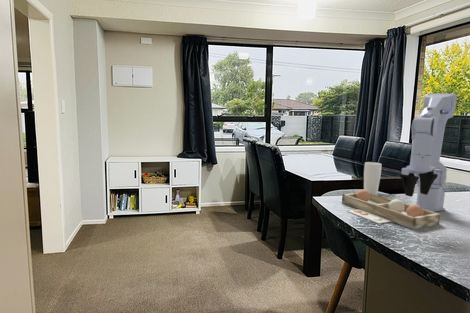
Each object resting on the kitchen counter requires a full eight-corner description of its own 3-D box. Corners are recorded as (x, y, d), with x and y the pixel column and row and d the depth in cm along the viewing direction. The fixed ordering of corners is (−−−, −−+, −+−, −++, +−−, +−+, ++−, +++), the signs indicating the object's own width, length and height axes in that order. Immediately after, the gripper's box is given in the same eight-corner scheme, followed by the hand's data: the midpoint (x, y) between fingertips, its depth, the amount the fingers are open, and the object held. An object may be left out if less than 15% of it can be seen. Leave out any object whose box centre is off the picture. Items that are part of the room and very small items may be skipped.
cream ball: (394, 210, 118) (395, 197, 117) (406, 214, 113) (408, 200, 113) (384, 211, 116) (386, 198, 115) (397, 216, 111) (398, 202, 111)
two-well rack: (365, 200, 135) (366, 191, 134) (439, 224, 107) (440, 214, 107) (341, 202, 129) (342, 194, 129) (413, 229, 102) (414, 218, 101)
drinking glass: (380, 200, 135) (383, 165, 133) (363, 198, 137) (366, 163, 135) (376, 196, 142) (379, 162, 140) (360, 194, 143) (363, 161, 141)
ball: (362, 199, 131) (363, 187, 130) (372, 203, 127) (373, 190, 126) (353, 200, 129) (354, 188, 128) (363, 204, 125) (364, 191, 124)
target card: (359, 209, 121) (359, 208, 120) (391, 221, 108) (391, 220, 108) (347, 211, 118) (347, 210, 118) (378, 223, 105) (379, 222, 105)
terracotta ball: (412, 216, 112) (413, 202, 111) (426, 220, 107) (427, 206, 106) (402, 217, 109) (403, 203, 109) (416, 222, 105) (417, 207, 104)
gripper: (423, 152, 112) (419, 190, 114) (395, 153, 106) (390, 193, 108) (444, 155, 106) (439, 195, 108) (415, 156, 99) (410, 199, 101)
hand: (416, 194), depth 107 cm, fingers open, 7 cm apart
